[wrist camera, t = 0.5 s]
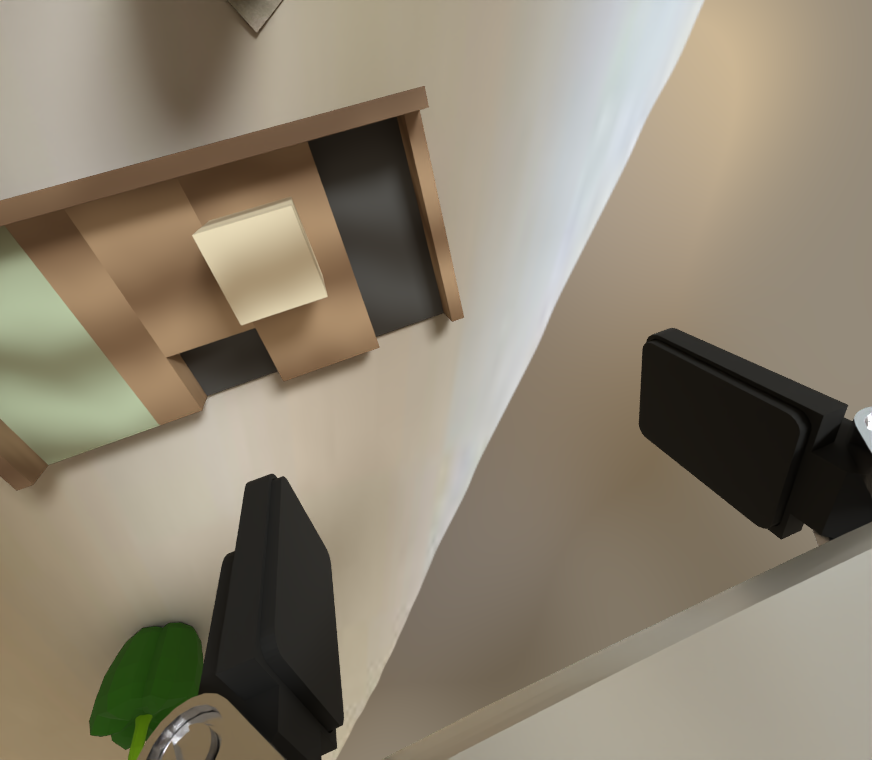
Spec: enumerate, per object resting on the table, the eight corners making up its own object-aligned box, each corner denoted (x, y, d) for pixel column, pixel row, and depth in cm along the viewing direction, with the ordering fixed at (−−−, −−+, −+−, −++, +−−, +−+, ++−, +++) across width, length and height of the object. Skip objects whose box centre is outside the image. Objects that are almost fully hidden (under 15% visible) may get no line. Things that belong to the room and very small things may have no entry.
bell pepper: (141, 603, 39) (100, 724, 31) (225, 618, 44) (209, 728, 35) (100, 657, 41) (50, 786, 33) (185, 666, 45) (160, 783, 37)
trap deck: (-152, 246, 22) (-242, 265, 18) (405, 94, 26) (424, 85, 23) (50, 448, 30) (16, 490, 26) (453, 307, 34) (473, 326, 31)
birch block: (209, 220, 24) (191, 235, 20) (291, 196, 25) (291, 205, 21) (248, 298, 27) (241, 325, 23) (322, 274, 28) (327, 296, 24)
